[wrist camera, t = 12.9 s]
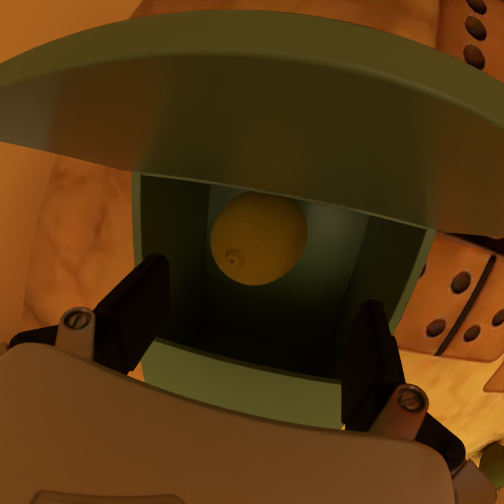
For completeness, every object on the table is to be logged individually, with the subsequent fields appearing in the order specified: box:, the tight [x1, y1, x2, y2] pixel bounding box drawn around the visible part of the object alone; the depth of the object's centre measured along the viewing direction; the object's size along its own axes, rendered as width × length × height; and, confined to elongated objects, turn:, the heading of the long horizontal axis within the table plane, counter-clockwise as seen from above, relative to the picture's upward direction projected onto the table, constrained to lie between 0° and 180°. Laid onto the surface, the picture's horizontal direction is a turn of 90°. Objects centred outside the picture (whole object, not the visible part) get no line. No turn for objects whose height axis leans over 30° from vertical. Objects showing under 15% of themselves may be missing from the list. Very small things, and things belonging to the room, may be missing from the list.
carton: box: [132, 171, 437, 430], centre depth 19 cm, size 18×13×11 cm
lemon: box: [210, 191, 308, 285], centre depth 18 cm, size 6×6×8 cm
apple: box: [479, 443, 504, 491], centre depth 27 cm, size 9×8×12 cm
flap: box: [0, 10, 504, 238], centre depth 6 cm, size 9×13×1 cm
